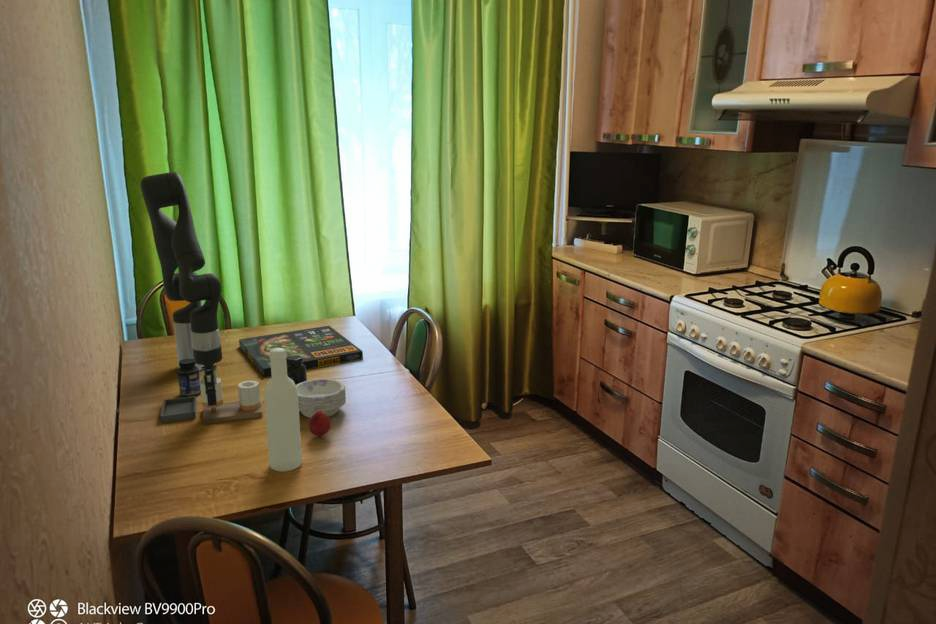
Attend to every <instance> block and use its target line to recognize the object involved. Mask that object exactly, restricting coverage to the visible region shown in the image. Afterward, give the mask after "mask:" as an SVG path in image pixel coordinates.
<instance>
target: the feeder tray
mask: <svg viewBox="0 0 936 624" xmlns="http://www.w3.org/2000/svg"><path fill="white" fill-rule="evenodd" d="M197 404H198V399H197V396H192V397H176V398H168V399H163V401H162V406H161V411H160V423H163V424H165V423H172V422H179V421H186V420H195V419H196V417H197V409H198V408H197Z"/></svg>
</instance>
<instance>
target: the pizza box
mask: <svg viewBox="0 0 936 624" xmlns="http://www.w3.org/2000/svg"><path fill="white" fill-rule="evenodd" d="M238 342H239V348H240V349H241V351H242V352H243V353H244V354H245V355H246V356H247V358H248V359H249V361H251V363H252V364H253V366H254V367H255V368H256V369H257V371H259V373H260V374H261V375H262V377H263V378H267V377H272V375H271V362H270V358H269V356H270V350H272V349H274V348H283V349H285V350H286V354H287V356H286V358H287V357H288V356H292V355H300V356H302V361H303V363H302V364H304V365H305V366H306V371H307V370H311V369H315V368H321V367H327V366H334V365H338V364H344V363H348V362H349V363H350V362H355V361H359V360H364V354H363V353H364V352H363V350H362V349H361V348H360V347H358V346H357V345H355V343H352V341H350V340H348V339H347V338H346V337H345V336H343V335H342V334H341V333H340V332H338V331H337V330H336V329H334V328H333V327H332V326H330V325H325V326H318V327H311V328H306V329H305V328H304V329H298V330H291V331H284V332H278V333H271V334H266V335H258V336H252V337H246V338H245V337H244V338H239V339H238Z"/></svg>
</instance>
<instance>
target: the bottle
mask: <svg viewBox="0 0 936 624" xmlns="http://www.w3.org/2000/svg"><path fill="white" fill-rule="evenodd" d="M286 356H287V354H286V350H285V349H283V348H274V349H272V350H270V356H269V358H270V362H271V375H272V376H271V378H270V379H269V380H268V381H267V382H266V384H265V387H264V391H263V398H264V400H263V402H264V409H265V411H264V413H265V424H266V435H267V447H268V462H269V467H270V469H271V470H273V471H275V472H281V473H282V472H291V471H293V470H296V469H297V468H299V467H300V466H301V465H302V464H303V450H302V441H301V425H300V411H299V407H298V393H297V387H296V385H295V383H294V381H293V380H292V379H290V378H289V377H288V376H287V364H286Z"/></svg>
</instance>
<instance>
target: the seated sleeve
mask: <svg viewBox="0 0 936 624" xmlns="http://www.w3.org/2000/svg"><path fill="white" fill-rule="evenodd" d="M237 391H238V392H237V393H238V394H237V395H238V401H239V405H240V409H242V410H244V411H250V410H255V409H258V408H259V407H260V406H261V407H262V403H261V392H260V383H259V381H257V380H245V381H242V382H240V383H238V384H237Z"/></svg>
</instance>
